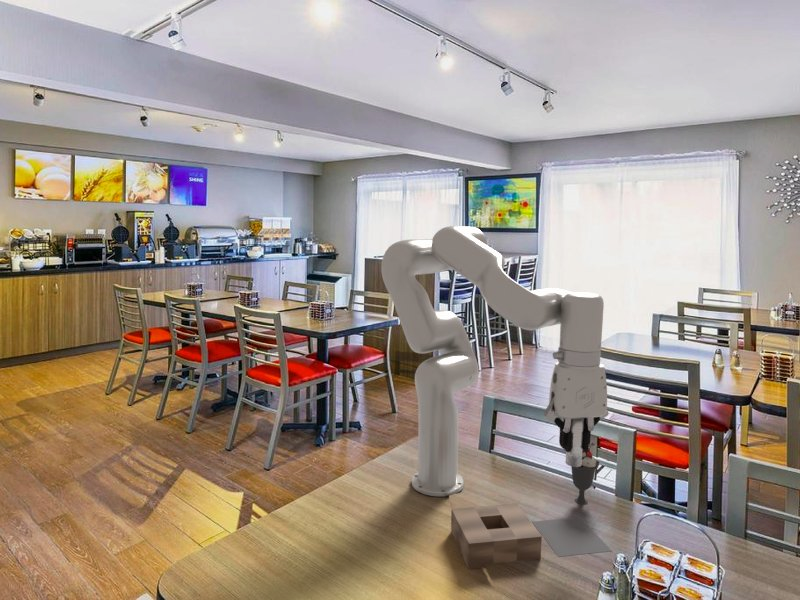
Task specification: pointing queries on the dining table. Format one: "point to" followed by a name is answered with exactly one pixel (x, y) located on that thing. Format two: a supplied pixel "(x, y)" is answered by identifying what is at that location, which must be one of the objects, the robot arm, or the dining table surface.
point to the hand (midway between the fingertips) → (574, 447)
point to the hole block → (494, 535)
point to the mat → (570, 536)
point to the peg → (576, 443)
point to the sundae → (584, 475)
